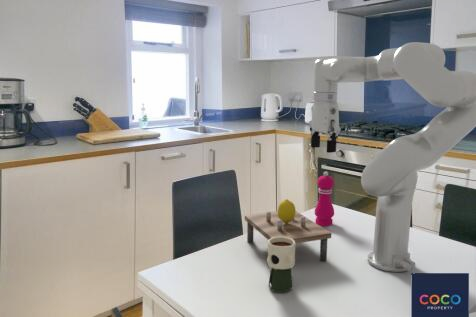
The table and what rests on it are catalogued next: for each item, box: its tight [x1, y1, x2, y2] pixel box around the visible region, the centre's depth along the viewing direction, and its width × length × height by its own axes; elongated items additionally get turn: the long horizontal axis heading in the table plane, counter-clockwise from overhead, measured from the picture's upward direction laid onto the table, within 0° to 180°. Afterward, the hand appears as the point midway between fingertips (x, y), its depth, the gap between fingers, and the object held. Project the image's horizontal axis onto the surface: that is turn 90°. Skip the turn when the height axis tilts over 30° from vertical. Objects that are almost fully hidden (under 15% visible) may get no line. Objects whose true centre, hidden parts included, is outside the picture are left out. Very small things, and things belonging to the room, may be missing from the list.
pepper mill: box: [314, 171, 335, 227], centre depth 157 cm, size 7×7×20 cm
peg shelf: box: [244, 210, 332, 263], centre depth 133 cm, size 24×18×12 cm
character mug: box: [266, 237, 296, 293], centre depth 110 cm, size 11×7×13 cm, turn 25°
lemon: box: [277, 198, 296, 224], centre depth 132 cm, size 6×6×8 cm
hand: (323, 149), depth 141 cm, fingers open, 9 cm apart
